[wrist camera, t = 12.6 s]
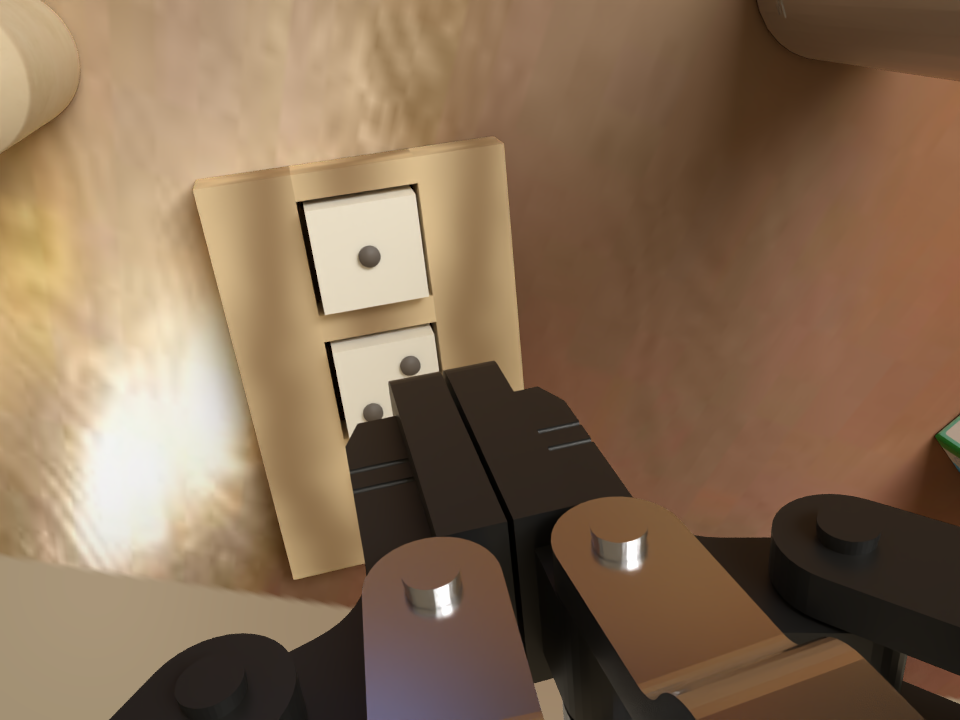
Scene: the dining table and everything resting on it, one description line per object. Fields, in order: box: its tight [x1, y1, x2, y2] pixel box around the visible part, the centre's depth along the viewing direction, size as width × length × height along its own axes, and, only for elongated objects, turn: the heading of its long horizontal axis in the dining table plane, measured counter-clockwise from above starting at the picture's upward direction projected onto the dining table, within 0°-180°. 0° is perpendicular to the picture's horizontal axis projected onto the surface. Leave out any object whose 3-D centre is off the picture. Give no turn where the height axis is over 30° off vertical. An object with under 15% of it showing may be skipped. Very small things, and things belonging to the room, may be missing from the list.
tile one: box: [303, 184, 429, 315], centre depth 38 cm, size 5×5×3 cm
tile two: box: [330, 323, 439, 439], centre depth 41 cm, size 5×5×3 cm
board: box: [193, 136, 524, 580], centre depth 42 cm, size 14×22×2 cm, turn 6°
